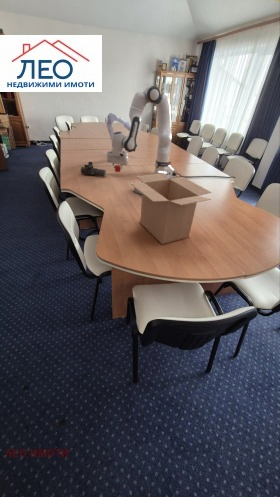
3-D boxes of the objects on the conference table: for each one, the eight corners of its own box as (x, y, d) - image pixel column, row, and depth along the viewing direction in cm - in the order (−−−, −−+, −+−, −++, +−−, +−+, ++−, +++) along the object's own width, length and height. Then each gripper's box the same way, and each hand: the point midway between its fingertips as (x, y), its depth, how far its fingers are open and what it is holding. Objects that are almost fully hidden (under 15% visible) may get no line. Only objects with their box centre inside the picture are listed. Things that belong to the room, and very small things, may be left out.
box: (210, 242, 124) (224, 196, 108) (157, 258, 109) (164, 208, 93) (167, 209, 154) (173, 169, 138) (121, 218, 140) (121, 175, 123)
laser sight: (103, 178, 196) (102, 166, 190) (79, 175, 199) (78, 163, 193) (106, 175, 204) (106, 163, 198) (83, 172, 206) (82, 160, 201)
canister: (119, 170, 204) (119, 165, 201) (120, 171, 201) (120, 166, 198) (114, 170, 203) (114, 165, 200) (115, 172, 199) (115, 166, 196)
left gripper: (129, 140, 238) (129, 153, 247) (139, 138, 247) (138, 151, 255) (125, 138, 242) (125, 151, 251) (135, 137, 251) (134, 150, 259)
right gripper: (105, 151, 193) (106, 167, 201) (126, 155, 187) (125, 171, 195) (109, 150, 198) (109, 166, 206) (129, 153, 191) (129, 169, 200)
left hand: (131, 151), depth 253 cm, fingers open, 7 cm apart
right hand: (117, 168), depth 200 cm, fingers closed on canister, 5 cm apart
